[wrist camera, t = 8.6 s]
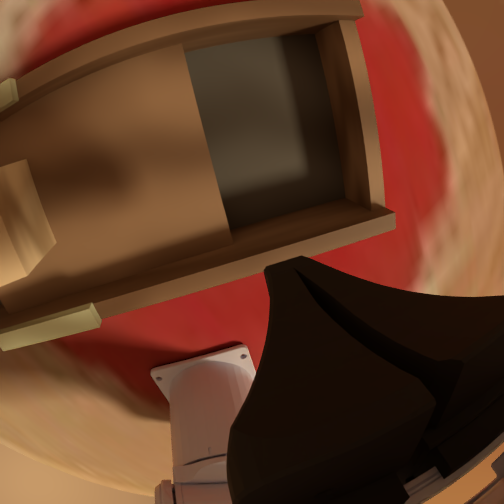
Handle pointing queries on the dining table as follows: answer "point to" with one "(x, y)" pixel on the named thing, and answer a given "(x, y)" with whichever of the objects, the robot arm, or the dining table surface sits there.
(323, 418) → the robot arm
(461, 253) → the dining table surface
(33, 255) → the birch block
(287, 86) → the trap lane
